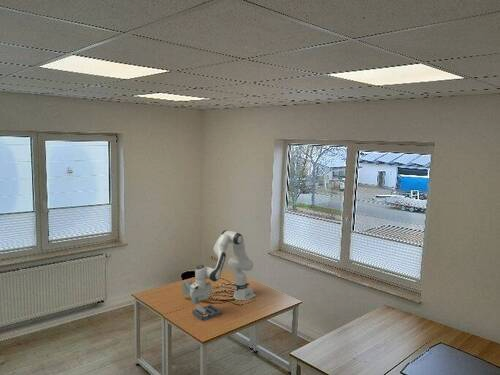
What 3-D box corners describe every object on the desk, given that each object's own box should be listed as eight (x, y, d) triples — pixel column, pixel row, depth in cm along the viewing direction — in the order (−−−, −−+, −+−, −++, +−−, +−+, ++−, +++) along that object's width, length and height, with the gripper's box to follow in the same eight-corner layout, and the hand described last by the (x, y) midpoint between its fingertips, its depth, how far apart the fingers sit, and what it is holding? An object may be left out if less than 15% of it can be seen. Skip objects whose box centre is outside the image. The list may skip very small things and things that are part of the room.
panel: (198, 312, 339) (198, 304, 338) (206, 317, 330) (205, 309, 329) (196, 313, 337) (196, 305, 337) (203, 318, 328) (203, 310, 327)
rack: (210, 308, 350) (210, 304, 349) (221, 314, 337) (221, 310, 336) (192, 314, 338) (192, 309, 338) (202, 321, 325) (202, 316, 324)
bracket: (209, 303, 361) (209, 282, 359) (206, 305, 355) (205, 285, 352) (184, 298, 372) (184, 278, 369) (180, 301, 365) (180, 280, 363)
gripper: (208, 280, 339) (209, 295, 341) (188, 286, 327) (188, 301, 329) (212, 282, 334) (213, 297, 336) (192, 288, 322) (192, 304, 324)
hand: (201, 299), depth 332 cm, fingers closed
